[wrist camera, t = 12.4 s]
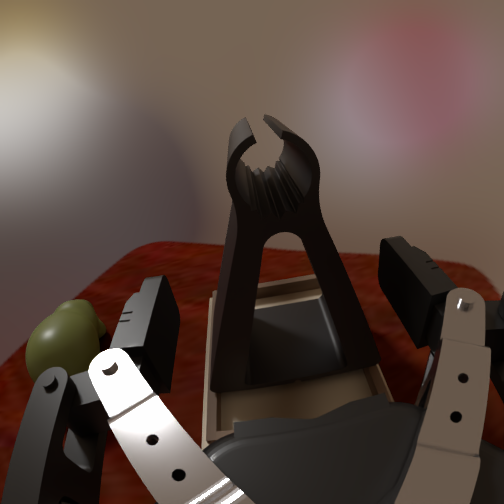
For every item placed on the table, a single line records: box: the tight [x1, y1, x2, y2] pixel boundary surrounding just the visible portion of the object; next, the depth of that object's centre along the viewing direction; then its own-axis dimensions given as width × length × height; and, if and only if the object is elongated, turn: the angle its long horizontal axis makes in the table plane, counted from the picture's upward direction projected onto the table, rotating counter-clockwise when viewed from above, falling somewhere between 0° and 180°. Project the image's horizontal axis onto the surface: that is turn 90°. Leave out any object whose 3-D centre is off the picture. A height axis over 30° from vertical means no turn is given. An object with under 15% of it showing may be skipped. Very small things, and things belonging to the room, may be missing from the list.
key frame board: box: [202, 274, 394, 450], centre depth 18 cm, size 10×13×2 cm
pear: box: [26, 300, 106, 383], centre depth 20 cm, size 6×5×10 cm
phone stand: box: [210, 115, 381, 393], centre depth 15 cm, size 9×6×12 cm, turn 93°
